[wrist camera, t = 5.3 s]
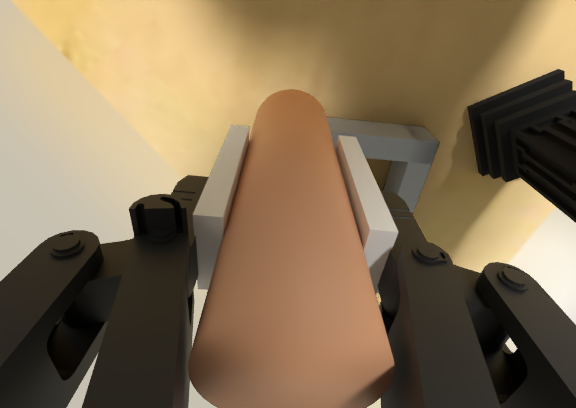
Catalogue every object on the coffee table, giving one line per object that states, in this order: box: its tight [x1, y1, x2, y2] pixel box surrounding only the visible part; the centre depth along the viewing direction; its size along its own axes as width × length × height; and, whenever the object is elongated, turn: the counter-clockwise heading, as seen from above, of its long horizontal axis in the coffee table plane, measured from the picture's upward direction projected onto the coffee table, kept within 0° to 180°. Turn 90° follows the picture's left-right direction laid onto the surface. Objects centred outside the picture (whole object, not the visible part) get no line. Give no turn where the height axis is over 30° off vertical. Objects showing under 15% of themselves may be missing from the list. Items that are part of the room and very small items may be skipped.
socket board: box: [327, 117, 440, 293], centre depth 36 cm, size 20×10×4 cm, turn 174°
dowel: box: [188, 89, 395, 408], centre depth 12 cm, size 4×4×14 cm
